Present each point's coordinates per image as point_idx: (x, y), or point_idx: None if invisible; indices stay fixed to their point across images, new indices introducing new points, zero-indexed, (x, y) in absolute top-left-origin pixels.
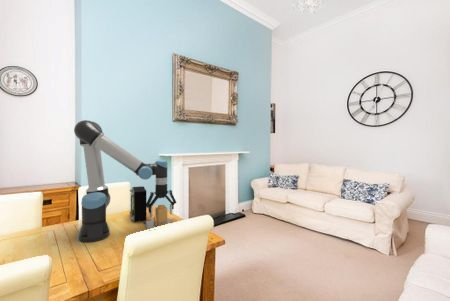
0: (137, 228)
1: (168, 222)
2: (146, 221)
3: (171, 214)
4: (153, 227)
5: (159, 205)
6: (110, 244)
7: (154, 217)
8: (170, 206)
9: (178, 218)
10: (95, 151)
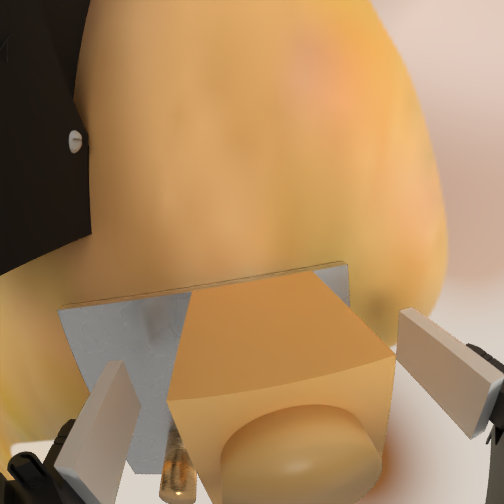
0: (45, 400)
1: None
2: (87, 307)
3: (400, 359)
4: None
5: (263, 489)
6: None
7: (166, 493)
8: (462, 393)
9: (440, 285)
10: None
